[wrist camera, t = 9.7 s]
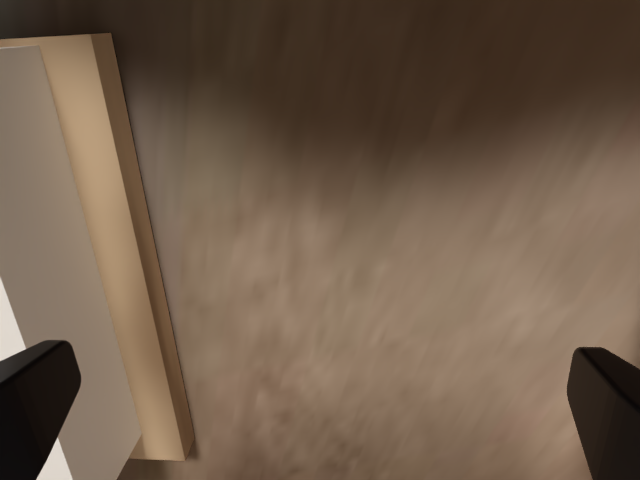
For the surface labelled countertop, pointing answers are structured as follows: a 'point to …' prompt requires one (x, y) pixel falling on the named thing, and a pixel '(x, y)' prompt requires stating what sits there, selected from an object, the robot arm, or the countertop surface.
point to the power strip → (56, 275)
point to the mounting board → (119, 232)
